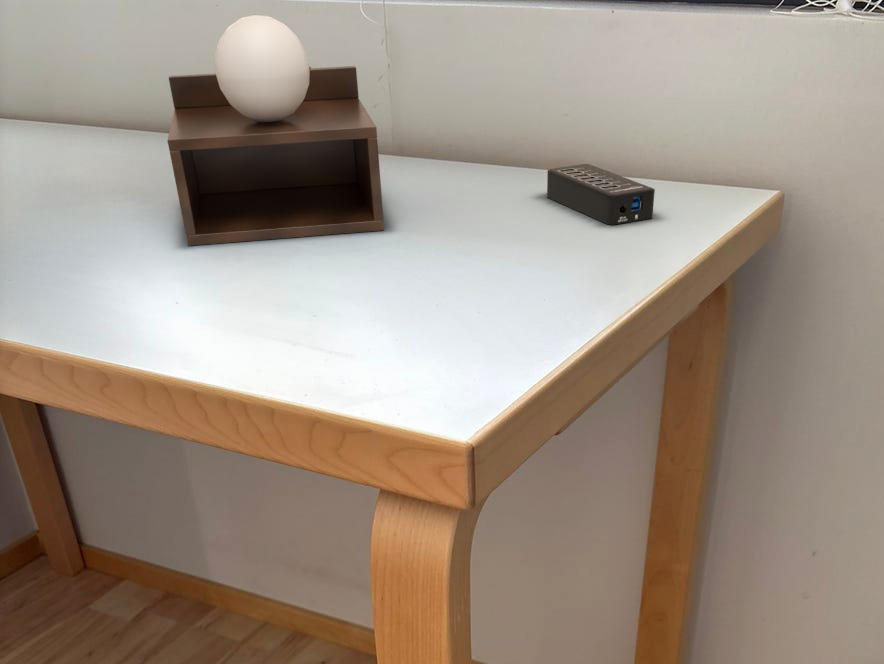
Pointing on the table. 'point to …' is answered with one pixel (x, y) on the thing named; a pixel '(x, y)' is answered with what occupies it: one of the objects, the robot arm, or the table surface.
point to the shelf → (275, 163)
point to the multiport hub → (600, 194)
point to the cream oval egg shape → (262, 68)
